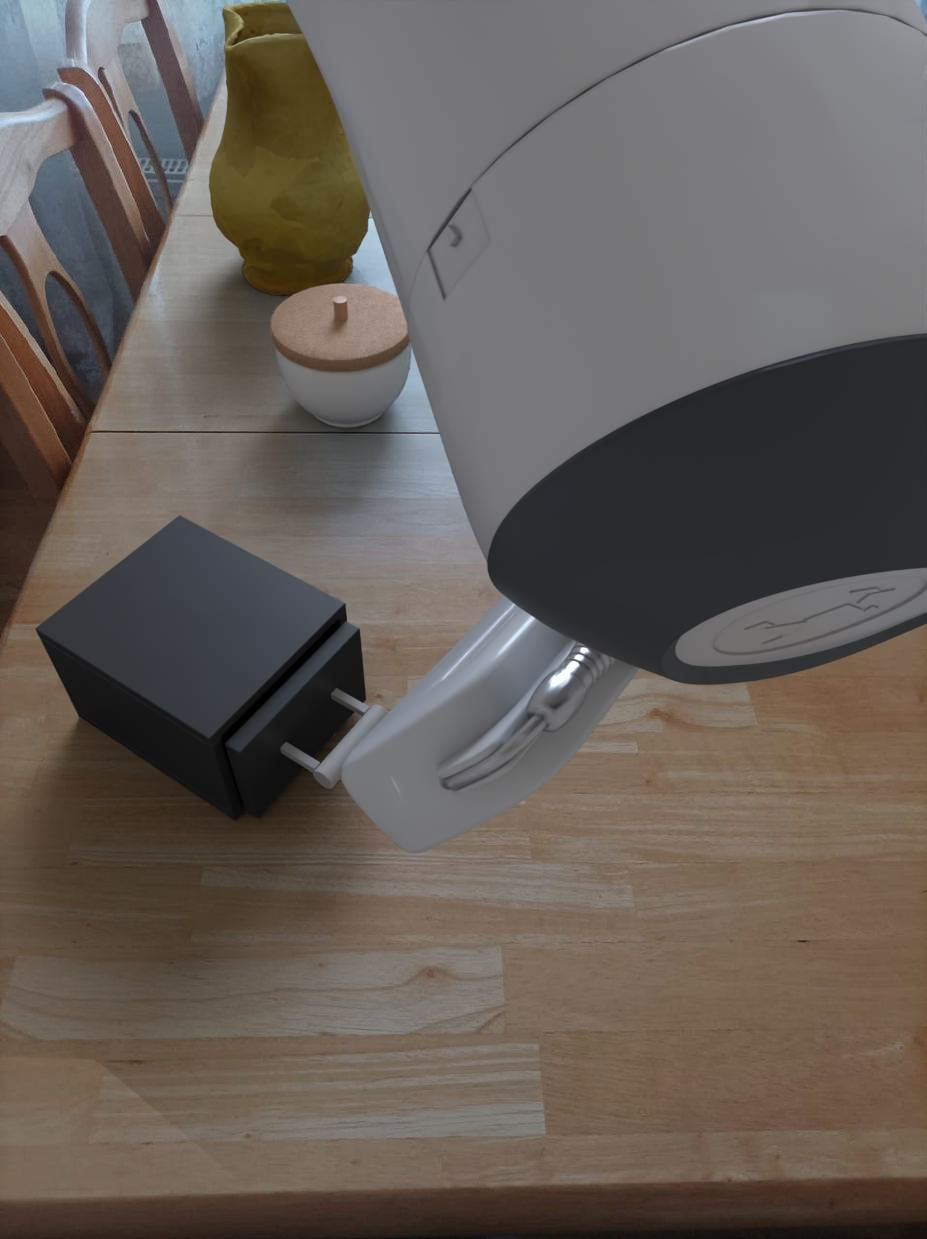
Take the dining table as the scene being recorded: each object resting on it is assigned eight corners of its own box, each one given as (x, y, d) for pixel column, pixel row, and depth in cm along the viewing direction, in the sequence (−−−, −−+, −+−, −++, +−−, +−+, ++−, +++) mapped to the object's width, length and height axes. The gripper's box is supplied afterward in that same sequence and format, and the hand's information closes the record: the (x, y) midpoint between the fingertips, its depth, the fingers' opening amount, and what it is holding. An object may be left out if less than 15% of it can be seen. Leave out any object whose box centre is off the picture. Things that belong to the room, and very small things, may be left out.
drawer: (416, 727, 64) (414, 657, 58) (310, 854, 58) (296, 789, 52) (223, 617, 70) (204, 543, 65) (108, 721, 64) (75, 650, 58)
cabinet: (355, 691, 67) (345, 602, 60) (235, 821, 60) (209, 739, 53) (205, 606, 72) (179, 514, 65) (78, 717, 65) (34, 628, 58)
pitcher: (191, 250, 107) (156, -2, 88) (336, 219, 115) (332, -19, 96) (256, 324, 98) (233, 62, 79) (408, 286, 106) (420, 38, 87)
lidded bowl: (434, 384, 92) (435, 280, 84) (379, 460, 84) (374, 354, 76) (320, 354, 95) (309, 251, 86) (257, 425, 87) (238, 319, 79)
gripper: (614, 856, 21) (356, 926, 32) (868, 455, 34) (623, 602, 45) (429, 648, 21) (231, 790, 31) (758, 321, 33) (537, 502, 44)
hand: (464, 677), depth 38 cm, fingers closed
